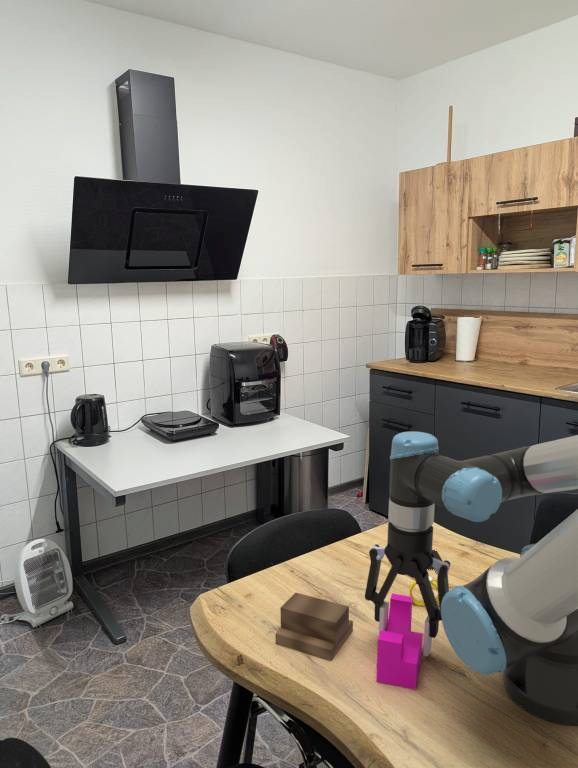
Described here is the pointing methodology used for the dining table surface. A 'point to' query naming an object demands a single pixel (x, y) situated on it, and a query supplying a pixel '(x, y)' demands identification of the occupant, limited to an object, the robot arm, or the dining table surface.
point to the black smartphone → (436, 558)
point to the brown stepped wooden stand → (314, 626)
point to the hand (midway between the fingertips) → (404, 644)
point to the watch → (419, 601)
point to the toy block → (399, 646)
